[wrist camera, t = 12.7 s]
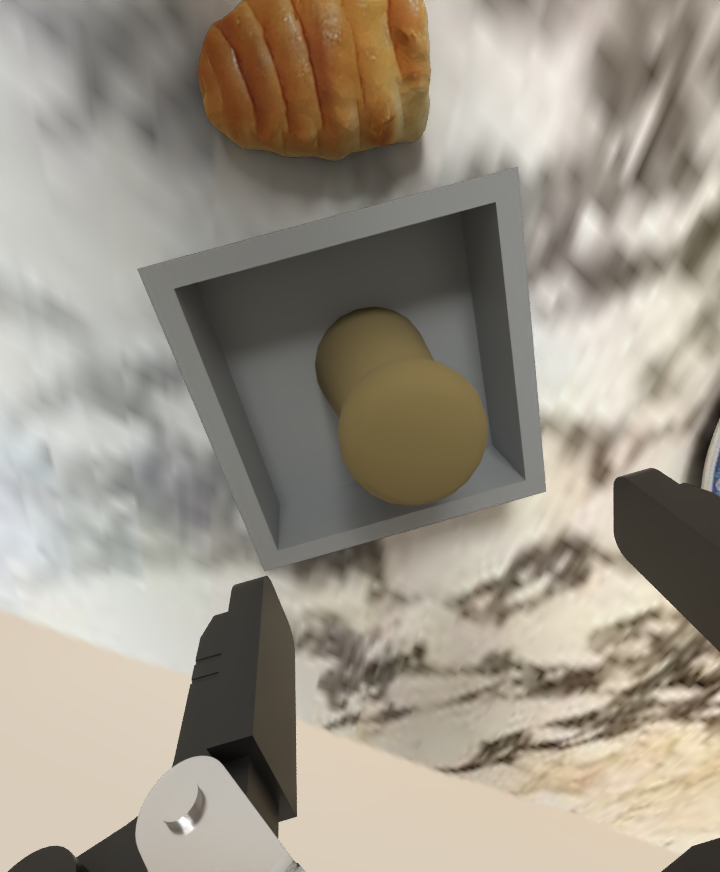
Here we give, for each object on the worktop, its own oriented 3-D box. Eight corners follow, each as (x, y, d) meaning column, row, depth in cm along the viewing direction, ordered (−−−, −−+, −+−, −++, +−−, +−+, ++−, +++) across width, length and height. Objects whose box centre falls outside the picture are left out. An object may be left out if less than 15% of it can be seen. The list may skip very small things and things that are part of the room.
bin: (169, 261, 22) (137, 268, 18) (472, 180, 23) (517, 166, 18) (269, 517, 28) (264, 571, 24) (506, 450, 29) (546, 491, 24)
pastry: (233, 191, 22) (222, 182, 18) (176, 8, 19) (149, -44, 16) (429, 140, 22) (454, 122, 18) (400, -48, 19) (423, -111, 16)
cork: (447, 377, 26) (545, 469, 16) (356, 438, 27) (395, 563, 16) (389, 282, 23) (461, 319, 13) (291, 352, 24) (290, 436, 14)
